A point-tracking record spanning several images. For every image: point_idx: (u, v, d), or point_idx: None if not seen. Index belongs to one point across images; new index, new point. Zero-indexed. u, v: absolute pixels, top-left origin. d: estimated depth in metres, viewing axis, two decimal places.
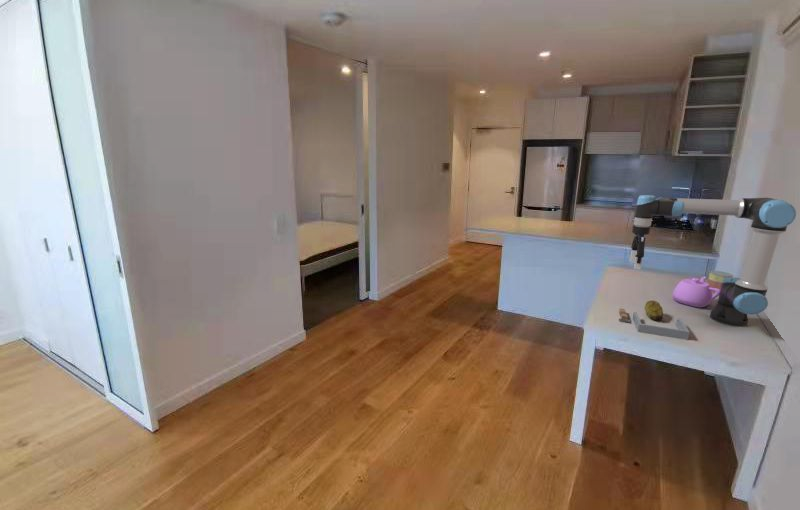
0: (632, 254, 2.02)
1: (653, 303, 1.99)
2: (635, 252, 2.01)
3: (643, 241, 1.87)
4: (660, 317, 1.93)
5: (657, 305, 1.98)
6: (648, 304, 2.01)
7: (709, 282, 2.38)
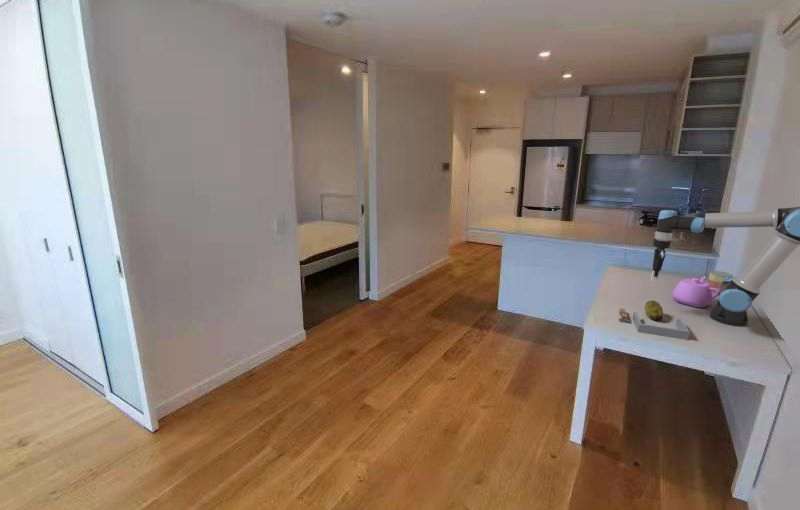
0: None
1: (653, 303, 1.99)
2: None
3: (662, 258, 1.96)
4: (660, 317, 1.93)
5: (657, 305, 1.98)
6: (648, 304, 2.01)
7: (709, 282, 2.38)
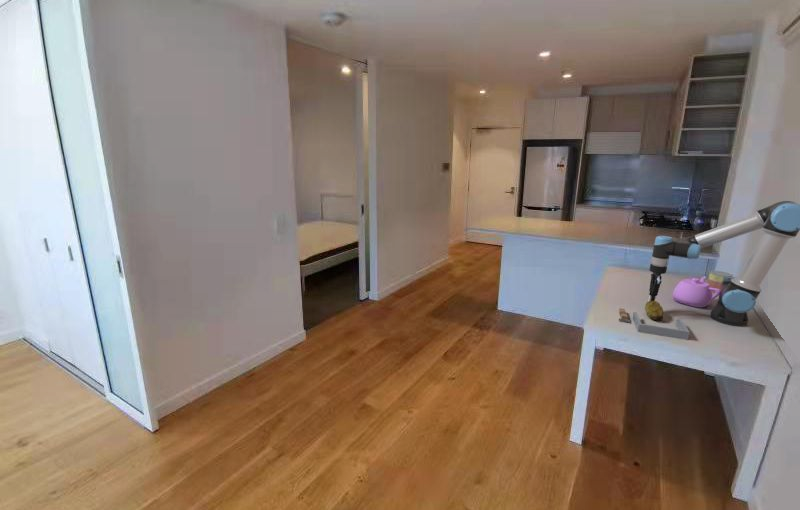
0: None
1: (653, 303, 1.99)
2: None
3: (659, 284, 1.97)
4: (660, 317, 1.93)
5: (657, 305, 1.97)
6: (648, 304, 2.00)
7: (709, 282, 2.38)
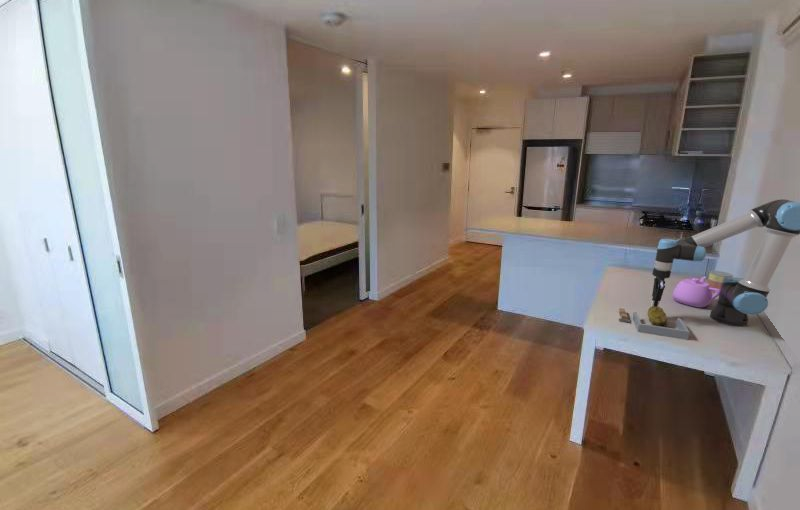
0: None
1: (656, 309, 1.92)
2: None
3: (662, 288, 1.90)
4: (663, 324, 1.85)
5: (660, 311, 1.90)
6: (651, 310, 1.93)
7: (709, 282, 2.38)
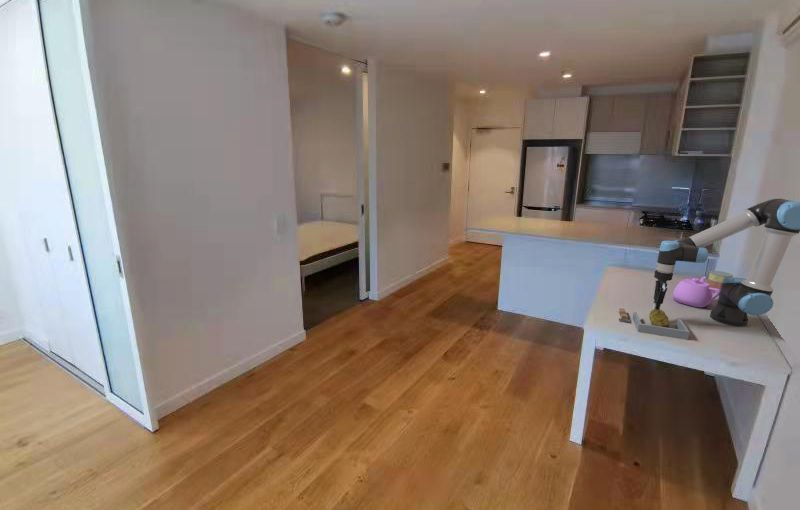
0: None
1: (658, 312, 1.88)
2: None
3: (664, 291, 1.86)
4: (666, 327, 1.82)
5: (662, 314, 1.86)
6: (653, 313, 1.89)
7: (709, 282, 2.38)
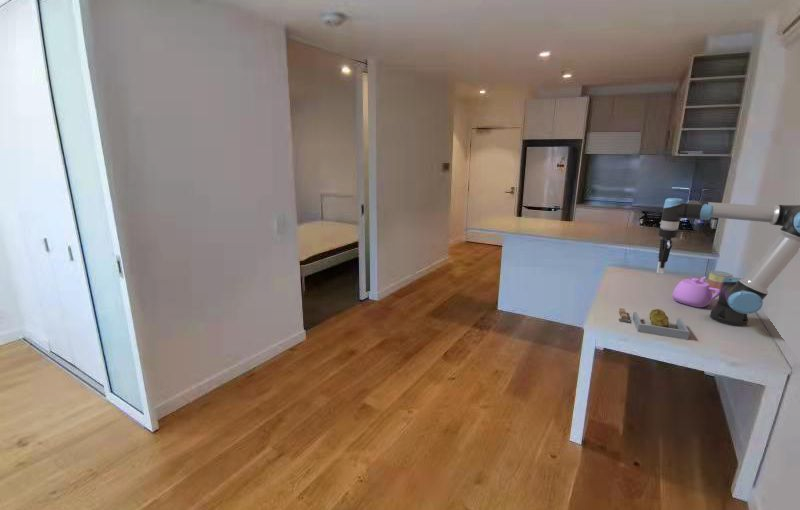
0: None
1: (658, 312, 1.88)
2: None
3: (669, 248, 1.87)
4: (666, 327, 1.82)
5: (663, 314, 1.86)
6: (653, 313, 1.89)
7: (709, 282, 2.38)
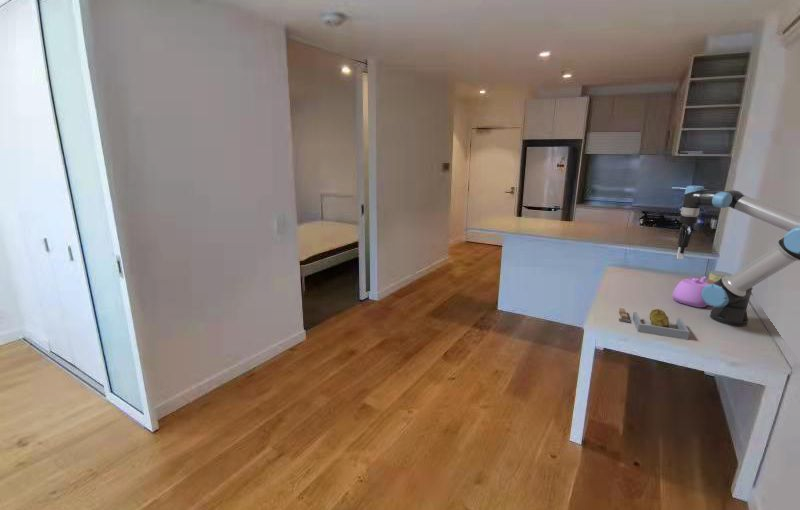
0: None
1: (658, 312, 1.88)
2: None
3: (689, 234, 1.94)
4: (666, 327, 1.82)
5: (663, 314, 1.86)
6: (653, 313, 1.89)
7: (709, 282, 2.38)
